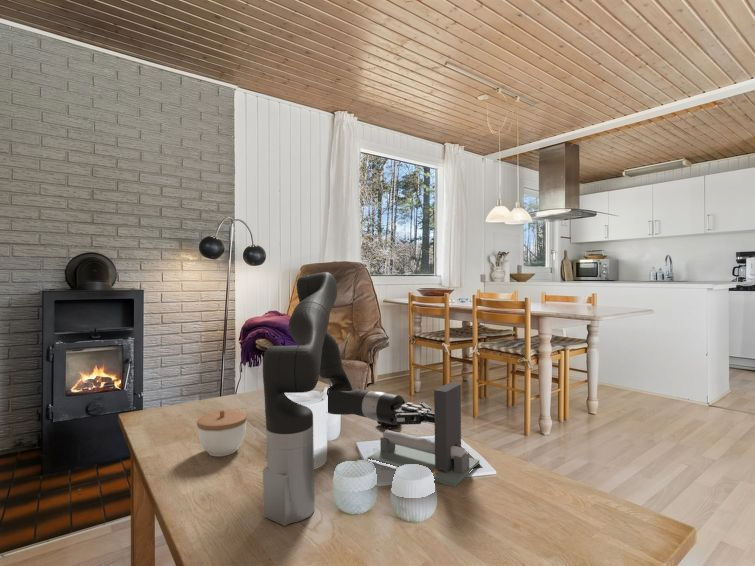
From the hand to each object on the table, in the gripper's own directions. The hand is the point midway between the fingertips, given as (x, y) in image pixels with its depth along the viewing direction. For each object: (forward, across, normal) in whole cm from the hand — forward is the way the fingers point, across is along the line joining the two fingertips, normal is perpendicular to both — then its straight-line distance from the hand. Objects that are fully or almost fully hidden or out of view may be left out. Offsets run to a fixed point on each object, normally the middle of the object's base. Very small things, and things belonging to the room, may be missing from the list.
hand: (442, 419), depth 105 cm
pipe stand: (-6, 0, +12) cm, 13 cm away
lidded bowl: (-54, -23, +12) cm, 60 cm away
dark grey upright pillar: (+2, 0, +11) cm, 11 cm away
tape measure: (-27, +17, +12) cm, 35 cm away
